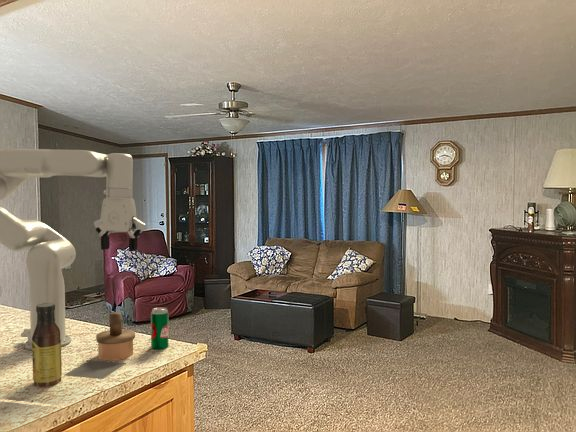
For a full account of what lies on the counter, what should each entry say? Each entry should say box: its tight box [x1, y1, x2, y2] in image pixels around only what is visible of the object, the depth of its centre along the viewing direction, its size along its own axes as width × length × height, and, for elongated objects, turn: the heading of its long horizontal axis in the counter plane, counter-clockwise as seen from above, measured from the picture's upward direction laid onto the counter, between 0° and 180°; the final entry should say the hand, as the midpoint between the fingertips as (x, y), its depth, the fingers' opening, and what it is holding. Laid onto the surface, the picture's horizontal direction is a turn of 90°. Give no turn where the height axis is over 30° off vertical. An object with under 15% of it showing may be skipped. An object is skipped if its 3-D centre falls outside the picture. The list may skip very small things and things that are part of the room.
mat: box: [63, 359, 127, 380], centre depth 122 cm, size 11×11×1 cm
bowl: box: [97, 339, 134, 361], centre depth 133 cm, size 9×9×5 cm
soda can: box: [150, 307, 170, 351], centre depth 140 cm, size 5×5×12 cm
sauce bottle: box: [31, 303, 63, 388], centre depth 113 cm, size 7×6×20 cm
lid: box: [95, 311, 136, 344], centre depth 133 cm, size 10×10×7 cm
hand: (118, 250), depth 143 cm, fingers open, 9 cm apart
